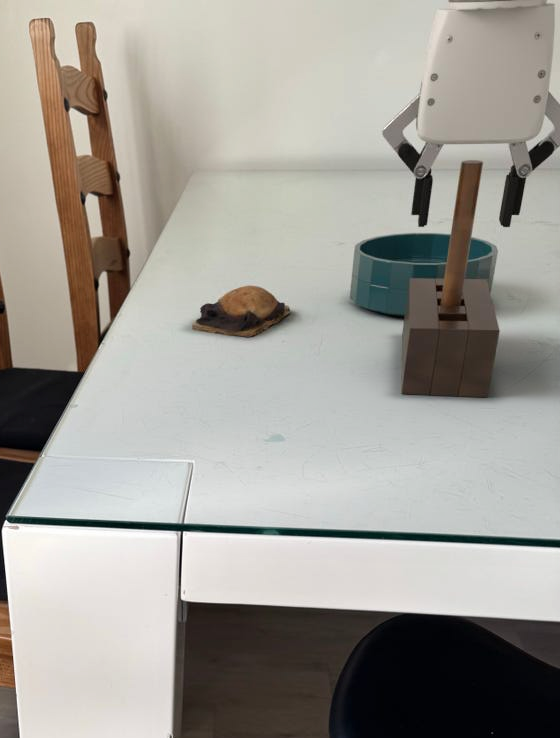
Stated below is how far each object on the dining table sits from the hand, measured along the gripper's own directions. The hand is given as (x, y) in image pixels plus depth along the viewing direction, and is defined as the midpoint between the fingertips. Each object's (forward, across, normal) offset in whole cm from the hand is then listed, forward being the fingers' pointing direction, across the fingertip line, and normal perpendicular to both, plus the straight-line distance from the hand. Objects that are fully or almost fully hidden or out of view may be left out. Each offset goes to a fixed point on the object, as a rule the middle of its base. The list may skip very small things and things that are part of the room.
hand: (463, 222), depth 90 cm
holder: (+13, 0, 0) cm, 13 cm away
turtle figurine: (+13, +21, -13) cm, 28 cm away
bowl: (+13, +2, -22) cm, 26 cm away
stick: (+13, 0, 0) cm, 13 cm away
